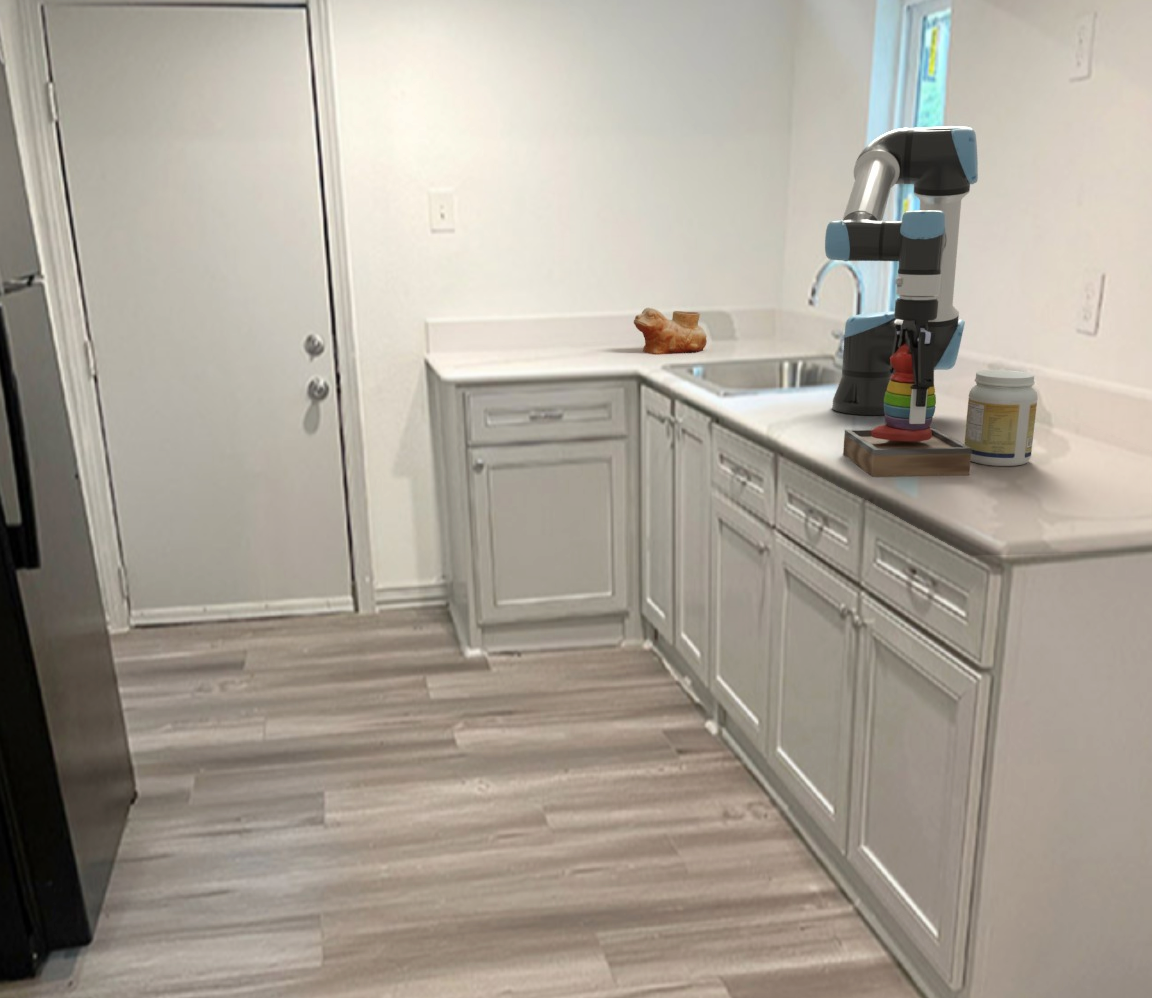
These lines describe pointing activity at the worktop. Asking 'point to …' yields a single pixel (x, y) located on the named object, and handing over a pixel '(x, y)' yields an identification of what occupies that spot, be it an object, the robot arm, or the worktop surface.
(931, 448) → the square tray
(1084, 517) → the worktop surface
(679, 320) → the ceramic vessel
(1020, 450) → the supplement tub
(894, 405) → the stacking bear
